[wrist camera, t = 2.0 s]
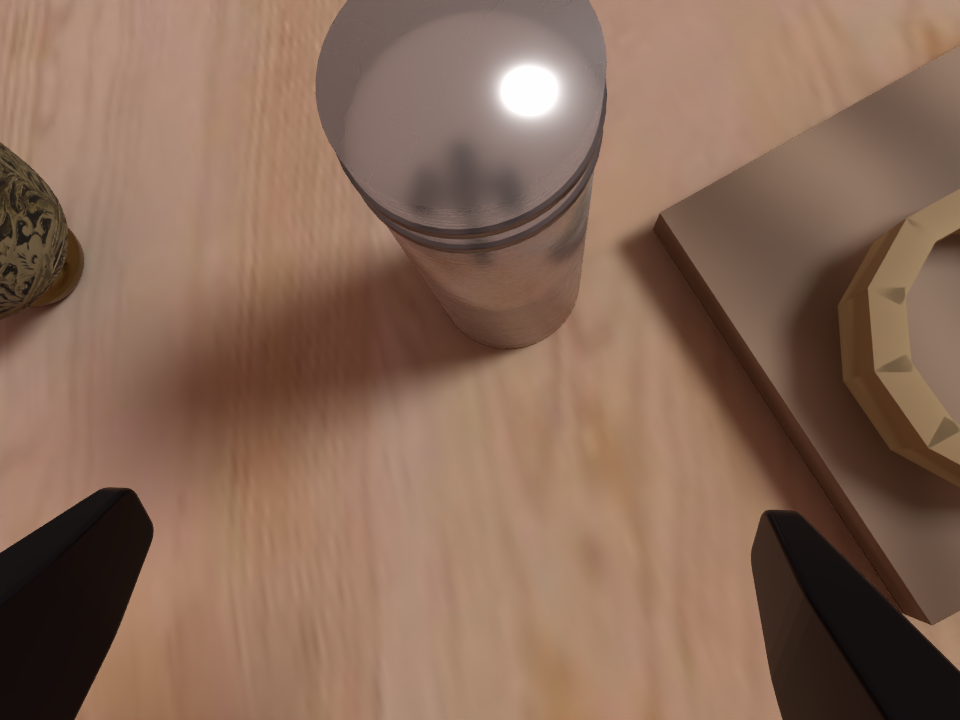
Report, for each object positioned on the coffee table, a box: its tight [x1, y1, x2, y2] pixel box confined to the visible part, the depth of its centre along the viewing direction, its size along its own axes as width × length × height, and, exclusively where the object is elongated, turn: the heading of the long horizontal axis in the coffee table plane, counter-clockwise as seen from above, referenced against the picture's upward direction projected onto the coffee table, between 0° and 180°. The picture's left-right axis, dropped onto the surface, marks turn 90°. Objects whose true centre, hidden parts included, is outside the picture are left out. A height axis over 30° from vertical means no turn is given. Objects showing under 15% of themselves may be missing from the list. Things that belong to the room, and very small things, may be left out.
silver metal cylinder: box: [316, 0, 607, 349], centre depth 17 cm, size 5×5×12 cm
